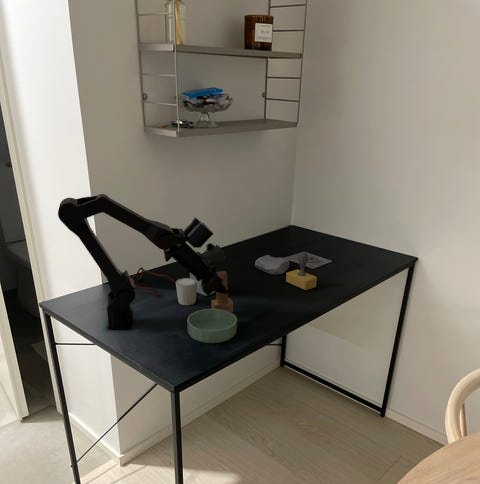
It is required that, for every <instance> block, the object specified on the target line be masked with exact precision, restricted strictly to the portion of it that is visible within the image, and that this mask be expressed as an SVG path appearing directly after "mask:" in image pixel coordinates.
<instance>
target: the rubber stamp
mask: <svg viewBox="0 0 480 484" xmlns="http://www.w3.org/2000/svg"><path fill="white" fill-rule="evenodd" d="M305 252H306V251H302V253H301V252H299V253H300V254H299V257H298V261H299V264H298V265H299V267H300V269H293V270H291V271H288V272H287V271H286V273H285V274H286V275H285V276H286V277H285V282H286V283H288V284H290V285H292V286H294V287H297V288H299V289H302V290H304V291H308V290H311V289H314V288H317V281H318V277H317V276H315V275H312V274H311V273H307V272H305V267H307V266H306V264H307V261H308V255H307V253H308V252H307V253H305Z"/></svg>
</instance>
